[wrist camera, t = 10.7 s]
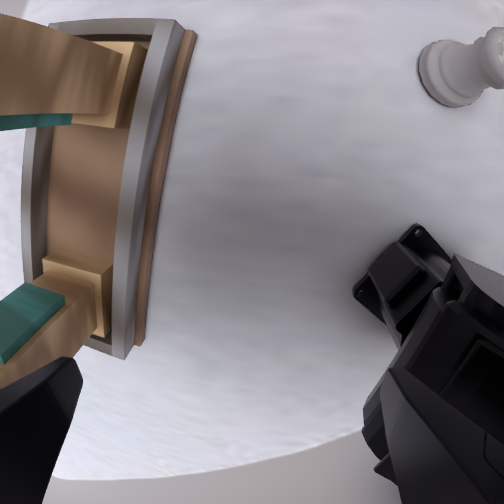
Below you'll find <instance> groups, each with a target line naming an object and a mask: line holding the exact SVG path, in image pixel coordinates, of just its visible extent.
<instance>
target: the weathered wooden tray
mask: <svg viewBox="0 0 504 504" xmlns="http://www.w3.org/2000/svg"><path fill="white" fill-rule="evenodd" d="M196 38H197V34H196V33H195V32H194V31H193V30H185V29H184V28H183V27H182V26H181V25H180V24H179V23H178V22H177V21H176V20H174V19H153V18H111V19H91V20H78V21H67V22H58V23H50V24H49V25H48V27H47V26H44V25H40V24H37V23H34V22H30V21H27V20H23V19H20V18H16V17H12V16H8V15H4V14H0V131H5V130H14V129H23V128H26V134H25V143H24V153H23V166H22V184H21V241H22V259H23V272H24V283H25V282H27V283H29V284H30V283H31V282H33V281H34V280H35V279H37V278H38V277H39V276H41V275H42V274H44V272H43V262H42V259H43V258H44V257H46V256H47V255H49V254H50V253H52V252H54V251H55V250H57V249H61V250H64V251H68V252H72V253H76V254H80V255H84V256H88V257H92V258H96V259H100V260H104V261H108V262H112V263H114V265H113V285H112V328H111V330H110V331H109V332H108V333H107V335H106V336H105V337H100V336H97V335H94V334H92V335H91V336H90V337H89V338H88V339H87V341H86V342H85V343H84V344H83V345H85V346H88V347H90V348H93V349H95V350H98V351H100V352H103V353H106V354H108V355H111V356H114V357H116V358H119V359H122V360H125V358H126V357H127V355H128V354H129V352H130V350H131V349H132V347H133V346H134V345H137V346H141V344H142V343H143V341H144V339H145V325H146V312H147V301H148V290H149V281H150V272H151V263H152V255H153V247H154V239H155V232H156V225H157V218H158V211H159V205H160V199H161V193H162V187H163V181H164V175H165V170H166V164H167V159H168V154H169V149H170V144H171V139H172V134H173V129H174V125H175V120H176V116H177V111H178V107H179V103H180V98H181V94H182V90H183V86H184V82H185V78H186V74H187V70H188V66H189V63H190V59H191V55H192V52H193V48H194V45H195V41H196Z"/></svg>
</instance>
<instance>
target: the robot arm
mask: <svg viewBox="0 0 504 504" xmlns="http://www.w3.org/2000/svg"><path fill="white" fill-rule="evenodd" d="M418 229H420V232H419V234H418V235H415V232H416V230H418ZM360 290H362V291H363V292H362V293H361V294H357V292H358V291H360ZM352 293H353V296H354V298H355V299H356V300H357V301H359V302H360V303H361V304H362V305H363V306H364V307H366V308H367V309H368V310H369V311H370V312H372V313H373V314H374V315H375V316H376V317H377V318H379V319H380V320H381V321H382V322H383V323H384V324H386V325H387V327H388V329H389V331H390V333H391V335H392V337H393V339H394V342H395V344H396V346H397V348H398V350H399V351H398V353H397V354H396V356H395V358H394V359H393V361H392V362H391V364H390V365H389V367H388V368H387V370H386V371H385V373H384V374H383V376H382V377H381V379H380V380H379V382H378V383H377V385H376V386H375V388H374V389H373V391H372V392H371V393H370V395H369V396H368V398H367V400H366V403H365V405H364V408H363V417H364V427H363V428H362V434H363V436H364V438H365V441H366V443H367V445H368V446H369V447H370V449H371V450H372V452H373V453H374V454H375V456H376V457H377V458H378V459H379V460H380V462H379V463H378V464H377V465H376V466H375V467H374V471H375V472H376V473H378V474H380V475H381V476H383V477H385V478H387V479H389V480H391V481H392V482H394V483H395V484H396V485H397V486H398V489H399V493H400V498H401V502H402V504H504V276H503V275H501V274H499V273H496V272H494V271H492V270H490V269H488V268H485V267H483V266H481V265H479V264H476V263H474V262H472V261H470V260H467V259H465V258H463V257H460V256H458V255H456V254H454V256H453V258H452V260H451V259H450V257H449V256H448V255H447V254H446V253H445V251H444V250H443V249H442V248H441V247H440V245H439V244H438V243H437V242H436V241H435V240H434V239H433V237H432V236H431V235H430V234H429V233H428V232H427V231H426V229H425V228H424V227H423V226H421V225H420V224H414V225H413V226H412V227H411V228H410V229H409V230H408V231H407V232H406V233H405V234H404V235H403V237H402V238H401V239H400V240H399V241H398V242H395V243H393V244H392V245H391V246H390V247H389V248H388V249H387V251H386V252H385V253H384V254H383V255H382V256H381V257H380V258H379V259H378V260H377V261H376V262H375V263H374V264H373V265H372V266H371V267H370V268H369V272H368V274H367V275H366V276H365V277H364V278H363V279H362V280H361V281H360V282H359V283H358V284H357V285H356V286H355V287H354V288H353V291H352ZM82 386H83V378H82V375H81V373H80V370H79V368H78V366H77V363H76V361H75V360H74V358H71V357H66V356H61V357H59V358H58V359H56V360H54V361H52V362H50V363H48V364H46V365H45V366H43V367H41V368H39V369H37V370H35V371H33V372H32V373H30V374H28V375H26V376H24V377H22V378H20V379H19V380H17V381H15V382H13V383H11V384H9V385H7V386H6V387H4V388H2V389H0V504H42V502H43V498H44V495H45V492H46V489H47V486H48V484H49V481H50V478H51V475H52V472H53V469H54V467H55V464H56V461H57V459H58V456H59V453H60V451H61V448H62V445H63V443H64V440H65V438H66V435H67V433H68V430H69V428H70V425H71V422H72V419H73V415H74V412H75V408H76V405H77V402H78V398H79V395H80V392H81V389H82Z"/></svg>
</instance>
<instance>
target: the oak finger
mask: <svg viewBox="0 0 504 504" xmlns="http://www.w3.org/2000/svg"><path fill="white" fill-rule="evenodd" d="M42 262H43V272H44V274H42V275H41V276H39V277H38V278H37V279H35V280H34V281H33V282H31V283H30V284H29V283H27V282H25V283H24V284H22V285H21V286H20V287H18V288H17V289H16V290H14V291H13V292H12V293H10V294H9V295H8V296H6V297H5V298H4V299H2V300H1V301H0V389H2V388H4V387H6V386H7V385H9V384H11V383H13V382H15V381H17V380H19V379H20V378H22V377H24V376H26V375H28V374H30V373H32V372H33V371H35V370H37V369H39V368H41V367H43V366H45V365H46V364H48V363H50V362H52V361H54V360H56V359H58V358H59V357H61V356H66V357H71V358H73V357H74V355H75V354H76V353H77V352H78V351H79V349H80V348H81V347H82V346H83V344H84V343H85V342H86V341H87V339H88V338H89V337H90V336H91V335H92V334H94V335H97V336H100V337H105V336H106V335H107V333H108V332H109V331H110V330H111V328H112V285H113V265H114V263H112V262H108V261H104V260H100V259H96V258H92V257H88V256H84V255H80V254H76V253H72V252H68V251H64V250H61V249H57V250H55V251H54V252H52V253H50V254H49V255H47V256H46V257H44V258H43V259H42Z"/></svg>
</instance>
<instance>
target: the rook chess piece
mask: <svg viewBox="0 0 504 504" xmlns="http://www.w3.org/2000/svg"><path fill="white" fill-rule="evenodd" d="M419 72H420V75H421V78H422V81H423V84H424V86H425V87H426V89H427V90H428V91H429V93H430V94H431V96H432V97H434V98H435V99H436V100H438V101H439V102H440V103H441V104H443V105H447V106H450V107H453V108H454V107H460V106H464V105H470V104H471V103H473V102H474V101H475V100H476V99H478V98H479V97H480V95H481V93H482V92H483V90H484V89H486V88H489V87H493V88H495V89H504V28H503V27H493V28H492V29H490V30H489V31H487V34H486V37H480V38H478V39H477V40H476V41H475V42H474V44H471V45H465V44H462V43H460V42H457V41H454V40H439V41H437V42H433V43H431V44H430V45H428V46H427V47H425V48H424V50H423V52H422V54H421V56H420V58H419Z"/></svg>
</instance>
